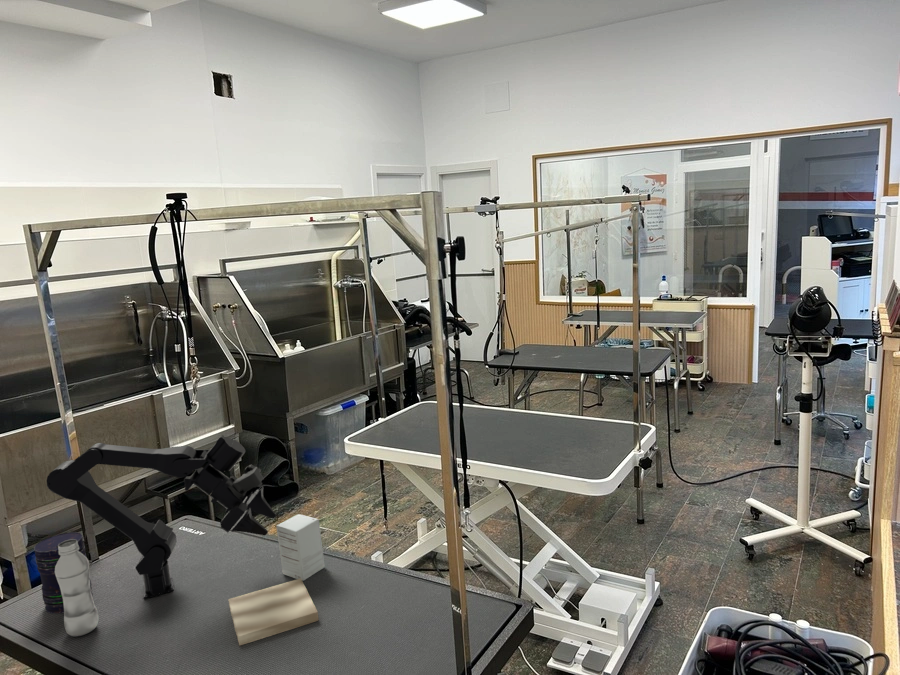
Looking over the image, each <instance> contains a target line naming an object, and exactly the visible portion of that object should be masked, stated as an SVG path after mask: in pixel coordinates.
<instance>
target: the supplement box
mask: <svg viewBox="0 0 900 675" xmlns="http://www.w3.org/2000/svg"><path fill="white" fill-rule="evenodd" d="M275 527H276V533H277V534H276V535H277V540H278V549H279V556H280V565H281V570H282V574H283V575H285V576H287V577H290V578H293V579H295V580H296V579H300V578H301V580H302V582H303V581H306V580H307V579H309V578H310V577H312V576H313V575H315V574H316V573H318V572H319V571H321V570H323V569H325V568H326V567H325V566H326V565H325V559H324V552H323V551H324V550H323V544H322V536H321V535H322V533H321V528H320V519H319V518H316V517H311V516H308V515H304V514H302V513H301V514H300V513H298V514H296V515H294V516H291V517H290V518H288V519H286V520H284V521H282V522H281V523H278V524H276V526H275Z"/></svg>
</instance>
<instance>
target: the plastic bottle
mask: <svg viewBox="0 0 900 675" xmlns="http://www.w3.org/2000/svg"><path fill="white" fill-rule="evenodd" d="M58 550H59V552H58V553H59V555H61V557H60V558H59V560H58V562H57V564H56V566H55V575H56V578H57V581H58V584H59V586H60V589H61V594H62V598H63V604H64V613H63V615H64V616H63V627H64V629H65V632H66V633H67V635H69V636H71V637H81V636H84V635H87V634H89V633H91V632H92V631H94V630H95V628H97V626H98V624H99V612H98V609H97V607H96V604H95V602H94V596H93V597H92V594H91V591H92V590H91V588H90V580H91V579H90V580H89V576H90V561H89V558H87V555H86V556H84V555H83V554H82V553H80V552H79V551H78V550H79V546H78V541H77V540H76V539H71V540H66V541H64V542H62V543H60V544H59V545H58Z"/></svg>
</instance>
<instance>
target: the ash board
mask: <svg viewBox="0 0 900 675" xmlns="http://www.w3.org/2000/svg"><path fill="white" fill-rule="evenodd" d="M227 600H228V607H229V610H230V615H231V619H232V622H233V626H234V631H235V634H236V639H237V642H238V646H243V645H246V644H249V643H250V644H251V643H252V642H256V641H259V640H262V639H265V638H268V637H272V636H275V635H278V634H281V633H283V632H287V631H291V630H294V629H297V628H299V627H303V626H306V625H309V624H312V623H315V622H318V621H319V614H318V613H319V612H318V610H317V607H316V606H315V604H314V602H313V600H312V598H311V596H310V594H309V592H308V589H307V588H306V586H305V584H304V582H303V581H302V580H301V578H300V579H296V578H295V579H294V580H290V581H287V582H283V583H280V584H276V585H272V586H269V587H266V588H263V589H259V590H254V591H251V592H249V593H245V594H242V595H241V594H240V595H238V596H233V597H231V598H228V599H227Z"/></svg>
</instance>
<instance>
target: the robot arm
mask: <svg viewBox="0 0 900 675" xmlns="http://www.w3.org/2000/svg"><path fill="white" fill-rule="evenodd" d="M245 453H246V449H245V447H244V446H243V445H242V444H241V443H240V442H239V441H237V440H236V439H233V438H230V437H226V436H224V435H222V434H221V435H220V436H219V437H218V439H217V440H216V443H214V444H213V446H212V447H211V448H210V449H209V448H208V449H207V448H206V449H205V448H203V449H201V448H199V449H198V448H194V447H192V446H188V445H180V446H170V447H165V448H146V447H138V446H137V447H136V446H127V445H125V446H124V445H116V444H106V443H103V442H97V443H95V444H93V445H92V446H90V447H89V448H88V449H86V451H85V452H83V453H81V454H80V455H79V456H78V457H76V458H75V459H73V460H72V459H71V460H65V461H63V462H62V463H60V464H59V465H58V466H57V467H55V468H54V469H53V470H52V471H51V472H50V473H48V475H47V477H46V487H47V488H48V490H49V491H50V492H52V493H53V494H55V495H57V496H59V497H62V498H64V499H65V500H70V501H74V502H79V503H81V504H82V505H84V506H86V507H87V508H88V509H89V510H91V511H93V512H94V513H95V514H96V515H97V516H99V517H100V518H102V519H103V520H105V521H107V523H109V524H110V525H111V526H113V527H115V528H116V529H117V530H119V531H120V532H121V533H122V534H124V535H125V536H127V537H128V538H129V539H131V540H132V542H133V543H134V545H135V547H136V549H137V551H138V553H139V554H141V555H142V556H141V557H140V559H139V560H138V562H137V564H136V566H135V570H136V572H137V573H138V575H140V576H142V579H143V586H142V588H143V589H142V591H143V592H142V594H143V595H142V597H143V599H144V600H145V599H149V598H153V597H156V596H160V594H161V595H164V594H167V593H171V592H174V590H175V586H174V579H173V577H171V573H170V567H169V561H168V560H169V558H170V557H171V555H172V554H173V551H174V549H175V547H176V545H177V535H176V533H175V532H174V531H173V530H174V528H173V527H172V526H171V527H169V526H168V525H167V524H166V523H165V522H164V521H163V520H161V519H158V520H157V522H156V523H154V522H148V521H147V520H145V519H144V518H142V517H141V516H140V515H138V514H137V513H136V512H134V511H132V510H131V509H130V508H128V506H126V505H124V504H123V503H122V502H121V501H119V500H118V499H116V498H115V497H114V496H112V494H109V493H108V492H107V491H105V489H103V488H102V487H100V486H99V485H98V484H96V481H95V480H94V477H93V475H92V474H91V472H90V470H92V469H93V468H94V467H96V465H105V466H114V467H115V466H116V467H126V468H127V467H129V468H140V469H150V470H154V471H157V472H159V473H161V474H164V475H167V476H170V477H175V478H184V479H183V482H184V490H185V492H188V491H189V490H190V489H191V488H192V487H193V486H195V487H197V488H198V489H199V490H201V491H202V492H203V493H205V494H206V495H207V496H209V497H210V498H211V500H210V502H211V503H212V504H215V503H218V504H220V505H221V506H223V507H224V508H225V509H226V510H225V511H224V513H226V514H224V516H223V518H222V519H221V521H220V528H221V529H222V530H223V531H225V532H226V533H227V534H228V533H229V532H230V531H231V532H232V533H234V532H238V533H239V532H240V533H247V534H248V533H249V534H253V535H260V536H266V535H268V533H269V531H268V530H267V528H265V527H264V526H263V524H261V523H260V522H259V521H258V520H257V519H256V518H255V517H254V516H253V515H252V514H253V513H252V512H254V513H256V514H259V515H261V516H264V517H267V518H270V519H276V517H277V514H276V513H275V511H274V510H273V508H272V507H271V505H270V504H269V503H268V502H267V500H266V498H265V497H264V486H263V482H262V481H263V480H265V478H264V476H263V475H262V469H261V468H259V467H258V466H255V465H253V464H252V463H251V464H249V465H247V466H246V467H245V468H244V473H243V474H242V475H241V476H239V477H238V478H237V477H236V476H234V475H231V476H230V477H228V476H227V475H225V474H224V473H225V472H230V471H231V470H232V469H233V468H234V466H236V464H237V463H238V461H239V460H240V459H241V458H242V457H243V456H244V455H245ZM206 462H207V463H206ZM204 464H205V465H204ZM193 471H194V472H193ZM192 472H193V473H192ZM191 473H192V474H191ZM190 474H191V475H190ZM189 475H190V476H189Z"/></svg>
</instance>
